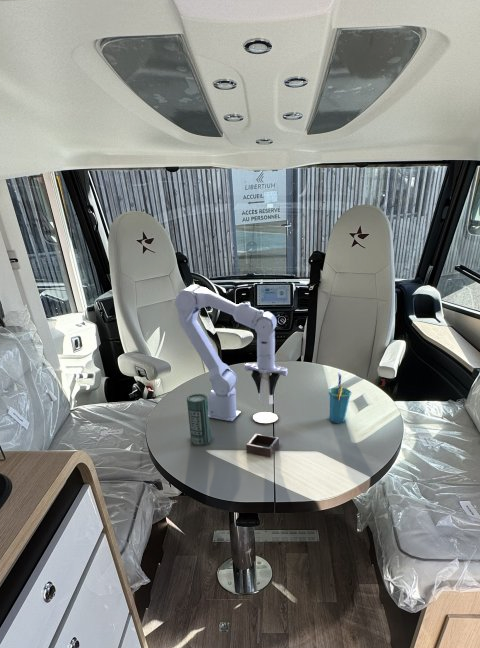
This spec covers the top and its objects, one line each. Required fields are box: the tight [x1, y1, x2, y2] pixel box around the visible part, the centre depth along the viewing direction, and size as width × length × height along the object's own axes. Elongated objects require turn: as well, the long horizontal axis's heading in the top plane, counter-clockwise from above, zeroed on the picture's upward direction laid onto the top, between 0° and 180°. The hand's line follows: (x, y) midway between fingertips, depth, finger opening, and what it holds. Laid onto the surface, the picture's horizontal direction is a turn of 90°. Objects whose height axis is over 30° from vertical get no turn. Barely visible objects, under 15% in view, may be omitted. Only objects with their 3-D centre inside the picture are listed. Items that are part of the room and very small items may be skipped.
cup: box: [328, 372, 352, 424], centre depth 154 cm, size 14×8×15 cm, turn 179°
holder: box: [245, 433, 280, 458], centre depth 139 cm, size 8×8×3 cm
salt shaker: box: [258, 372, 274, 406], centre depth 150 cm, size 5×5×11 cm
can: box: [186, 393, 212, 446], centre depth 140 cm, size 6×6×15 cm
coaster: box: [252, 411, 279, 425], centre depth 158 cm, size 9×9×1 cm
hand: (265, 393), depth 151 cm, fingers closed on salt shaker, 4 cm apart
